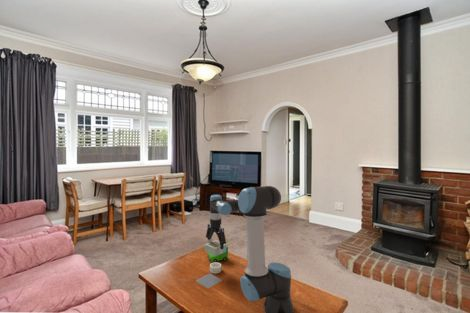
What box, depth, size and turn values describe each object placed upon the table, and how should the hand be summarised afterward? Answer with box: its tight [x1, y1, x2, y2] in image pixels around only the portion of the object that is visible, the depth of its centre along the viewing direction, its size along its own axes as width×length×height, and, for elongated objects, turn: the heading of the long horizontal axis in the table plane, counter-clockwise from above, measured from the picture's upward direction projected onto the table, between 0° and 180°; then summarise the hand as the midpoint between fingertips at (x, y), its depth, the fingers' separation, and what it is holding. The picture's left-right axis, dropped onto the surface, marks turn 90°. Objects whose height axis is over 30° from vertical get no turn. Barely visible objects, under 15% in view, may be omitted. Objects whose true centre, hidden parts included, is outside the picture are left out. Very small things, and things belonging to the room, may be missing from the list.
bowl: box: [209, 261, 222, 275], centre depth 168 cm, size 8×8×4 cm
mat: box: [194, 272, 223, 289], centre depth 156 cm, size 12×12×1 cm
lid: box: [204, 239, 227, 256], centre depth 167 cm, size 10×10×5 cm
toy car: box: [206, 245, 229, 263], centre depth 184 cm, size 10×13×10 cm
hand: (215, 251), depth 168 cm, fingers closed on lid, 10 cm apart
